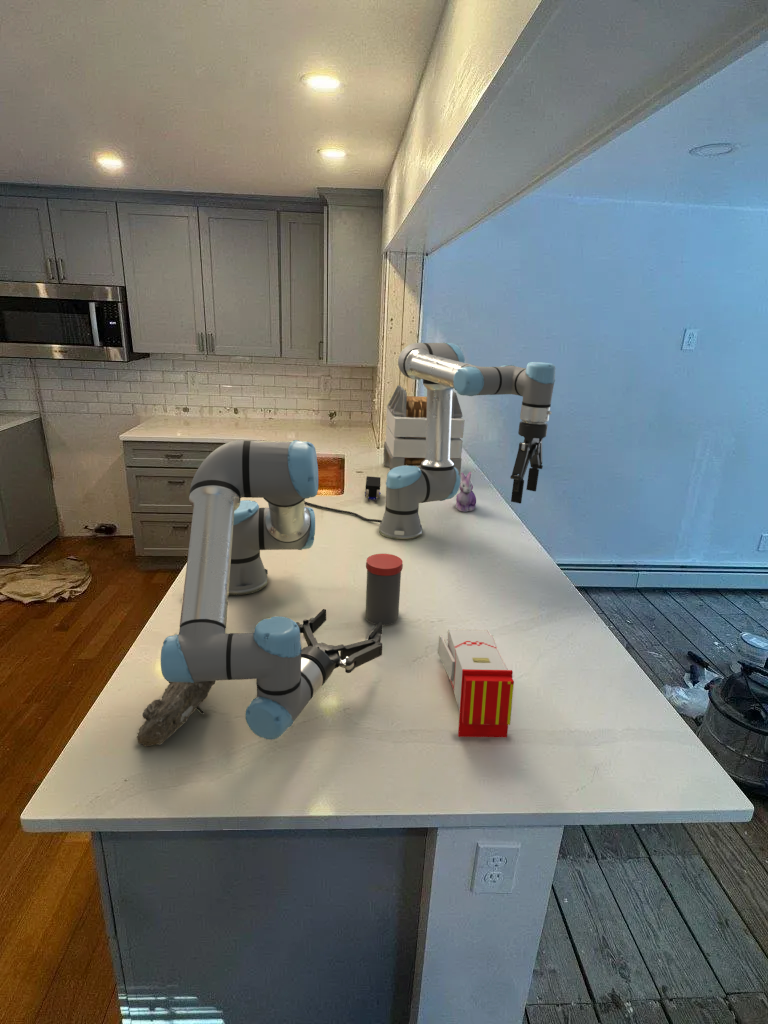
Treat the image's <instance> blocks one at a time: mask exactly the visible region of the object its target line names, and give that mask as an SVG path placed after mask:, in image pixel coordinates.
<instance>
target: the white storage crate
mask: <svg viewBox="0 0 768 1024" xmlns="http://www.w3.org/2000/svg"><path fill="white" fill-rule="evenodd" d="M407 394H408V393H407V390H406V389H404V388H403V387H402V385H399V384H398V385H397V386H396V388H395V390H394V392H393V394H392V395H391V398H390V400H389V402H388V404H387V405H386V413H385V414H386V415H385V423H386V428H385V438H384V442H383V466H384V467H388V468H389V471H390V470H391V469H393V468H395V467H398V466H405V465H407V466H410V465H411V466H417V467H421V462H422V461H423V460H425V456H426V416H427V396H415V395H414V396H413V395H412V396H411V395H407ZM464 429H465V419H464V418H463V411H462V408H461V405H460V402H459V398H458V395H457V392H455V391H453V390H452V414H451V441H450V460H451V461H452V462H453V463H454V467H455V468H456V469H457V470H458V472H459V474H458V475H460V476H461V472H462V461H463V460H462V453H463V442H464V441H463V440H462V439H463V438H464V431H465V430H464Z"/></svg>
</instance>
